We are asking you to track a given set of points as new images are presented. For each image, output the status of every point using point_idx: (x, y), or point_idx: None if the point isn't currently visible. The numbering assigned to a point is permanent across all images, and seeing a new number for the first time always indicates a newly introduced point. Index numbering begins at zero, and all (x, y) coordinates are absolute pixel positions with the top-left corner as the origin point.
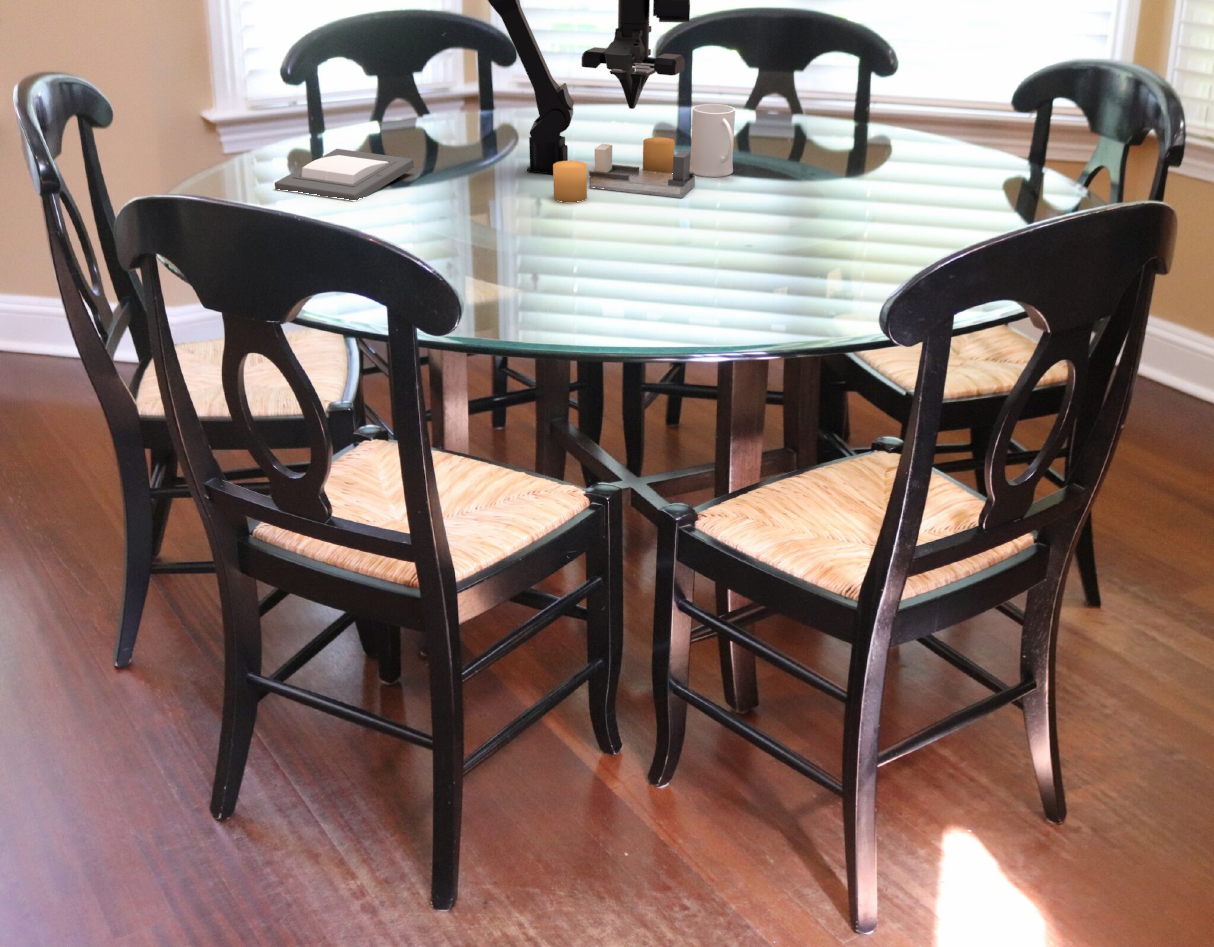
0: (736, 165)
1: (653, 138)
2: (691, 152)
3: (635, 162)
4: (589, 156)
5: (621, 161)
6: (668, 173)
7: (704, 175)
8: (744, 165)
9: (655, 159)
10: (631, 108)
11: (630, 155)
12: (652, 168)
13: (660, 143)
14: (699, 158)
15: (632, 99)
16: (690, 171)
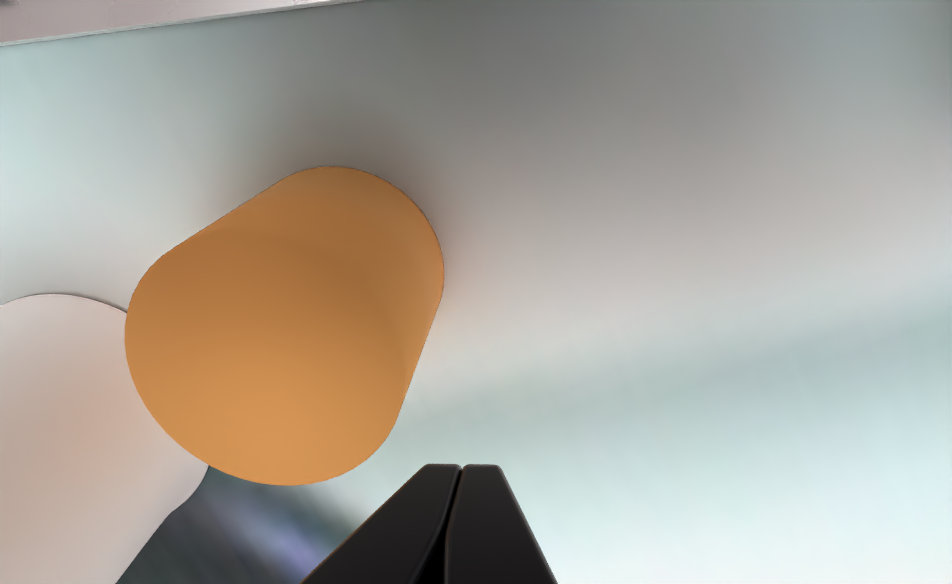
0: None
1: (352, 432)
2: (101, 420)
3: (575, 416)
4: (928, 428)
5: (671, 403)
6: (80, 20)
7: (42, 297)
8: None
9: (264, 197)
10: (457, 469)
11: (667, 536)
12: (310, 177)
13: (210, 305)
14: (15, 354)
15: (389, 556)
16: None
